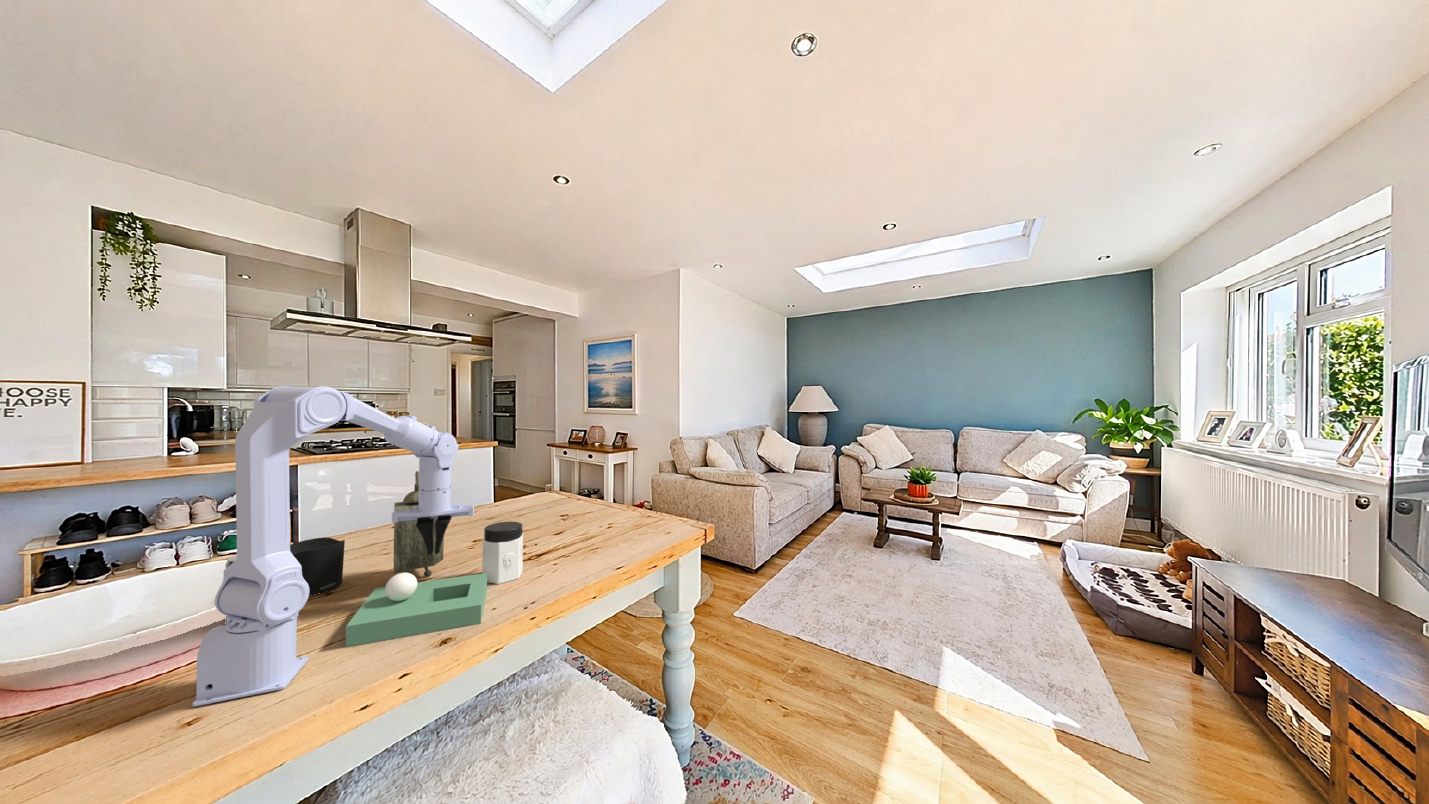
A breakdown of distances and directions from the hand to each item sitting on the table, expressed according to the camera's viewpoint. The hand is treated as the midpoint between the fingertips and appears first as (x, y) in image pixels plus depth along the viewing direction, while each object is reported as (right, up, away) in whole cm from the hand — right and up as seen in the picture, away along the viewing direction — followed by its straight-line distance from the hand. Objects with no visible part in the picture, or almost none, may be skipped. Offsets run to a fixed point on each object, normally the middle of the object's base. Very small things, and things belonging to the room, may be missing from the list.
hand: (434, 552), depth 91 cm
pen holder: (-28, -9, +3) cm, 29 cm away
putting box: (+3, -10, -7) cm, 12 cm away
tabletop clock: (-10, -10, +9) cm, 16 cm away
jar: (+9, -10, +11) cm, 17 cm away
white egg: (0, -3, -9) cm, 10 cm away
